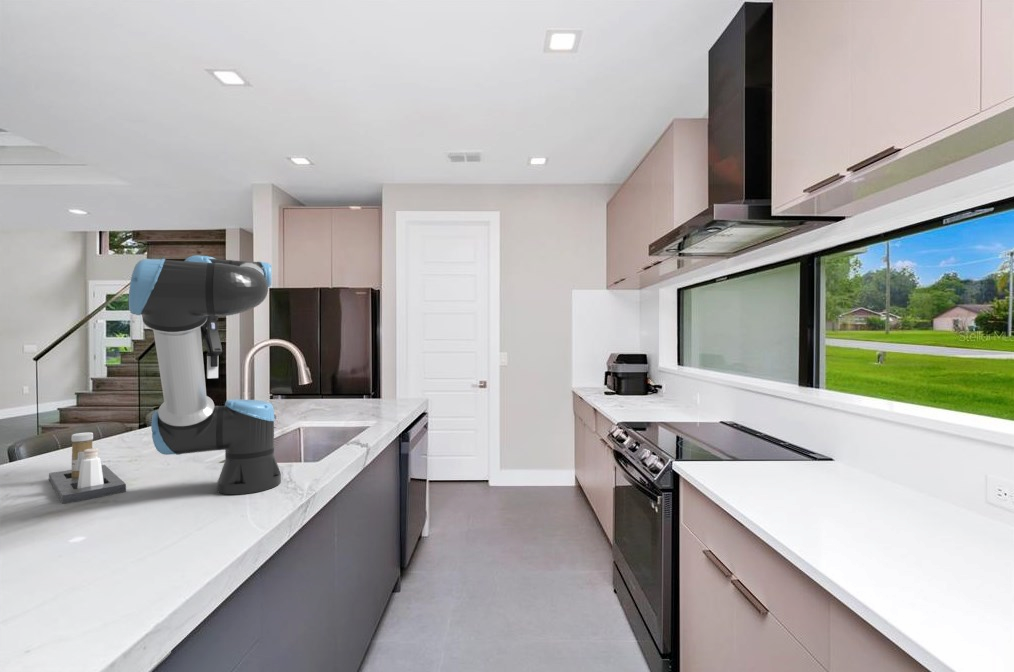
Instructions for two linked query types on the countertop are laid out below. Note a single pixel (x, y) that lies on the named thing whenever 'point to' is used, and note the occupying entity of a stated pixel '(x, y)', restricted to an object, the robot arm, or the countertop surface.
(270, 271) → the robot arm
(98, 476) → the pepper shaker
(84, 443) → the sprinkles bottle
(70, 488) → the bolt plate
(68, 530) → the countertop surface
